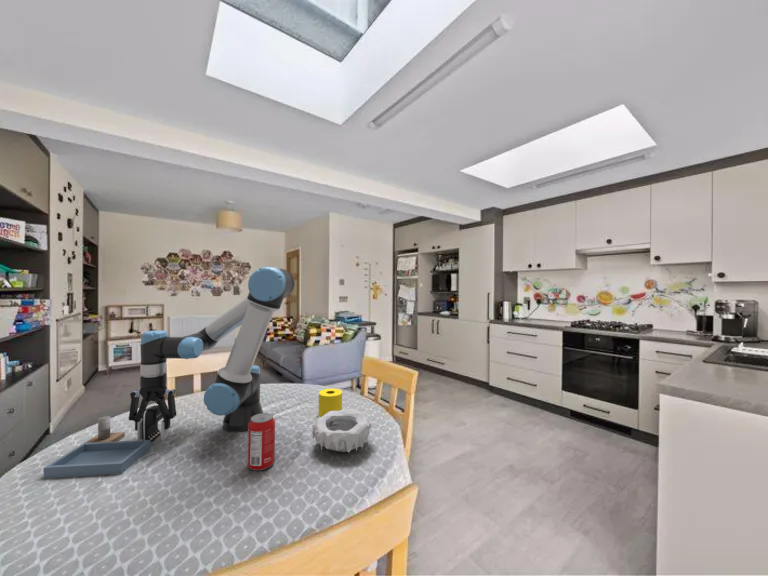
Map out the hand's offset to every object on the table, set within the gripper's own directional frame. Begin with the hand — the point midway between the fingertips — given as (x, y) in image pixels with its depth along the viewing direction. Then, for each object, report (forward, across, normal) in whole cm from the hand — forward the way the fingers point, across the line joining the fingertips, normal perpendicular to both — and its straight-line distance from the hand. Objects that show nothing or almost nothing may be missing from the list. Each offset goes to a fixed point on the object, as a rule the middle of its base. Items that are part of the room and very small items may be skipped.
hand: (152, 438), depth 112 cm
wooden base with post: (0, +15, +1) cm, 15 cm away
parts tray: (0, +7, +14) cm, 16 cm away
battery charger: (0, 0, 0) cm, 0 cm away
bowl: (0, -67, +12) cm, 68 cm away
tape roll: (0, -62, -16) cm, 64 cm away
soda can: (0, -42, +21) cm, 47 cm away
